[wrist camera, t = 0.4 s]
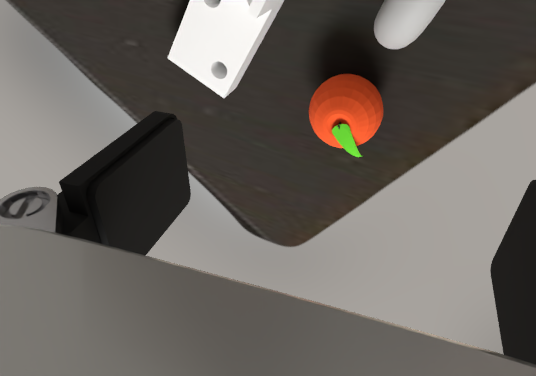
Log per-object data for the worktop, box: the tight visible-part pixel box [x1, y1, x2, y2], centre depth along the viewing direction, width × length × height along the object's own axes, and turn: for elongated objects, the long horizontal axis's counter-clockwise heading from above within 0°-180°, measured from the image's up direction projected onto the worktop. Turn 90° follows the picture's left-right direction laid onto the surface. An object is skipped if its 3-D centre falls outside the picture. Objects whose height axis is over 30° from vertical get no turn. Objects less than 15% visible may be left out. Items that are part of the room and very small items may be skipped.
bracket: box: [168, 0, 284, 98], centre depth 37 cm, size 13×7×8 cm, turn 150°
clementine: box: [309, 74, 383, 157], centre depth 38 cm, size 8×7×7 cm
